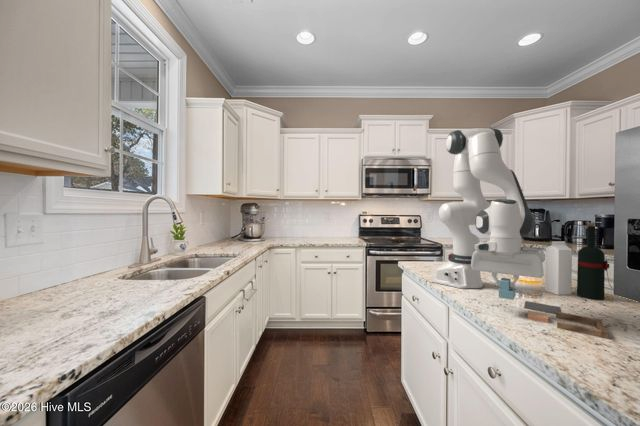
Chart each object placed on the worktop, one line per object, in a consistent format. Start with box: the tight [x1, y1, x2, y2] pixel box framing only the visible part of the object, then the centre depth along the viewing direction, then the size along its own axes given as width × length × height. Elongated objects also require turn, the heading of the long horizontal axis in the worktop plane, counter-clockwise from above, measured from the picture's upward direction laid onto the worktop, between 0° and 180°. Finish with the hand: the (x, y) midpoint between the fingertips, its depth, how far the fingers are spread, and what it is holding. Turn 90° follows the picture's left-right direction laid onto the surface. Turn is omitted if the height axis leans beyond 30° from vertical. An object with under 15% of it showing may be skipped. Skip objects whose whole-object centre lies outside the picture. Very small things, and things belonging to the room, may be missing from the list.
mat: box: [523, 300, 562, 315], centre depth 95 cm, size 10×10×1 cm
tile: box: [527, 309, 549, 324], centre depth 86 cm, size 5×5×2 cm
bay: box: [555, 311, 609, 340], centre depth 80 cm, size 10×11×2 cm
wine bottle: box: [576, 222, 614, 301], centre depth 108 cm, size 8×10×30 cm
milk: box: [544, 240, 573, 296], centre depth 114 cm, size 6×6×22 cm
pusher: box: [498, 277, 516, 301], centre depth 91 cm, size 4×7×6 cm, turn 140°
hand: (505, 286), depth 91 cm, fingers closed on pusher, 2 cm apart
